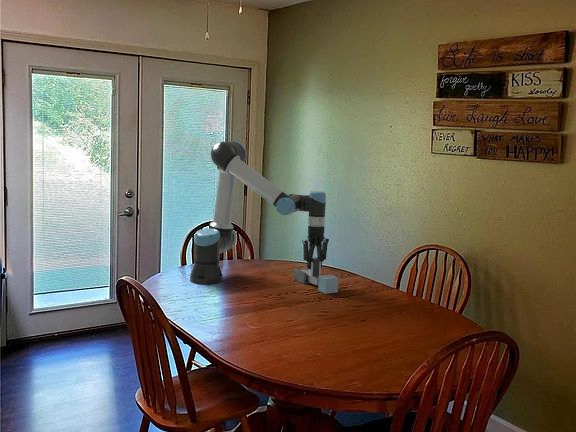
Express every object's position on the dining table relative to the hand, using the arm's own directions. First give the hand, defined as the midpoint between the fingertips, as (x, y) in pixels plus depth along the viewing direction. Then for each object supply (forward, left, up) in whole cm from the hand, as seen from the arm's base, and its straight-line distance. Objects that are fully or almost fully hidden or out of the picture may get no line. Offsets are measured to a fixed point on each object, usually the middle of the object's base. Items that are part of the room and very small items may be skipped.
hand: (314, 275), depth 273 cm
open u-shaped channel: (-8, 0, -5) cm, 9 cm away
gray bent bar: (-3, 0, -3) cm, 4 cm away
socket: (+12, 0, -5) cm, 13 cm away
